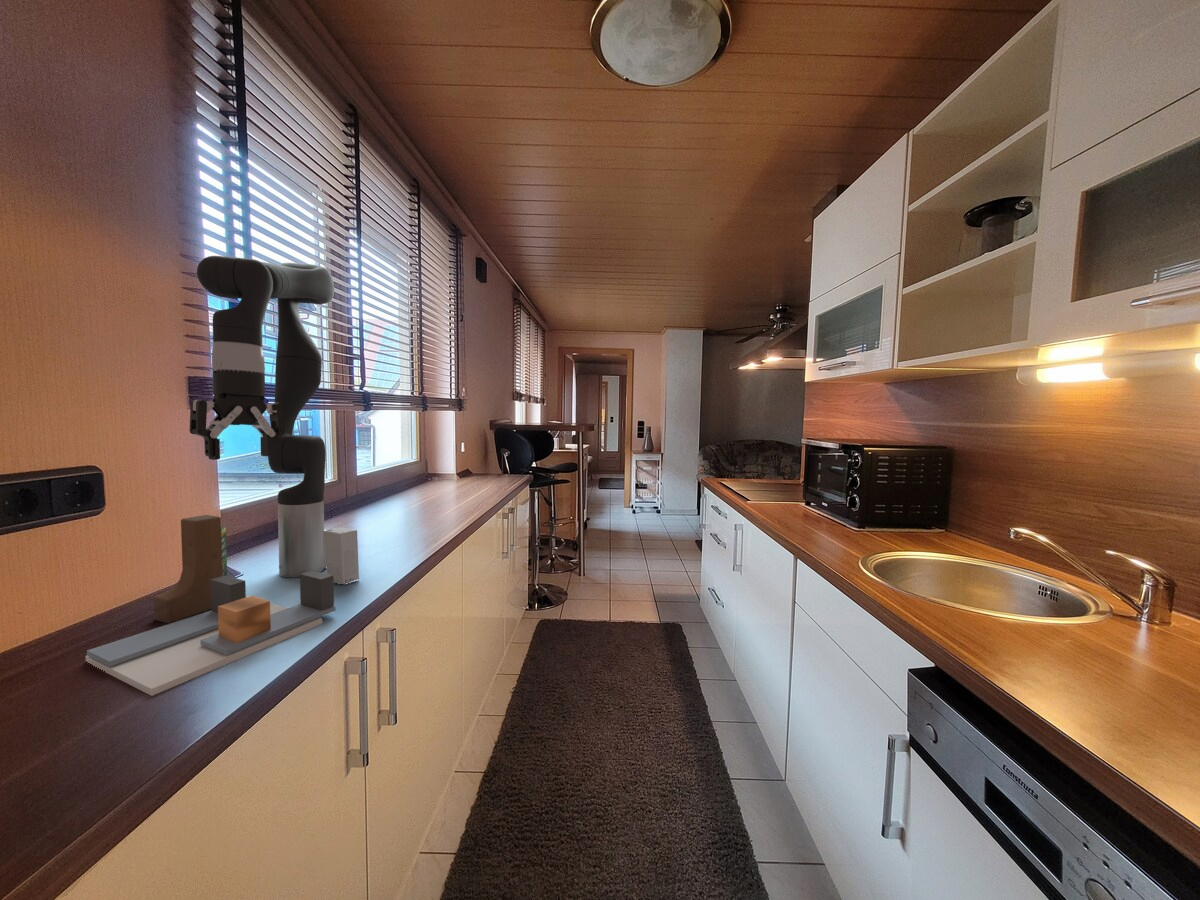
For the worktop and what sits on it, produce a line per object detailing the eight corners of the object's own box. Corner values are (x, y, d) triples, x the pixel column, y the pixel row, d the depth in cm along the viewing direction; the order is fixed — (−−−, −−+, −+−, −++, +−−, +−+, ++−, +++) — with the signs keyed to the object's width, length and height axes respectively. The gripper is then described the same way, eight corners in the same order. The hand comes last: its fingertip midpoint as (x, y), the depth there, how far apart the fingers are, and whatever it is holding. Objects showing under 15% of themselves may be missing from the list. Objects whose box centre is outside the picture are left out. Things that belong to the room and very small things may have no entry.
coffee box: (218, 596, 93) (216, 534, 92) (200, 599, 92) (198, 536, 91) (228, 583, 100) (227, 526, 99) (212, 585, 99) (210, 527, 98)
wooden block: (167, 624, 80) (164, 526, 79) (152, 620, 82) (149, 523, 81) (224, 605, 89) (221, 516, 88) (209, 601, 90) (207, 514, 89)
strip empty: (225, 610, 84) (224, 574, 84) (247, 617, 81) (247, 581, 81) (87, 655, 68) (84, 611, 67) (109, 666, 65) (107, 621, 64)
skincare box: (360, 580, 104) (359, 529, 103) (341, 586, 100) (341, 533, 99) (343, 575, 107) (342, 526, 106) (324, 581, 103) (323, 529, 102)
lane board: (258, 604, 90) (258, 599, 90) (322, 623, 83) (322, 618, 82) (86, 662, 68) (85, 656, 68) (151, 696, 60) (151, 688, 60)
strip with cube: (311, 603, 88) (310, 569, 88) (335, 610, 85) (335, 575, 85) (200, 644, 72) (199, 603, 71) (226, 655, 69) (225, 612, 68)
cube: (252, 623, 78) (251, 595, 77) (270, 629, 76) (270, 600, 75) (218, 636, 73) (217, 606, 73) (237, 642, 71) (236, 612, 71)
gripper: (267, 374, 90) (269, 454, 91) (178, 365, 77) (182, 459, 78) (292, 373, 87) (293, 456, 88) (203, 364, 74) (206, 462, 75)
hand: (241, 457), depth 83 cm, fingers open, 8 cm apart
